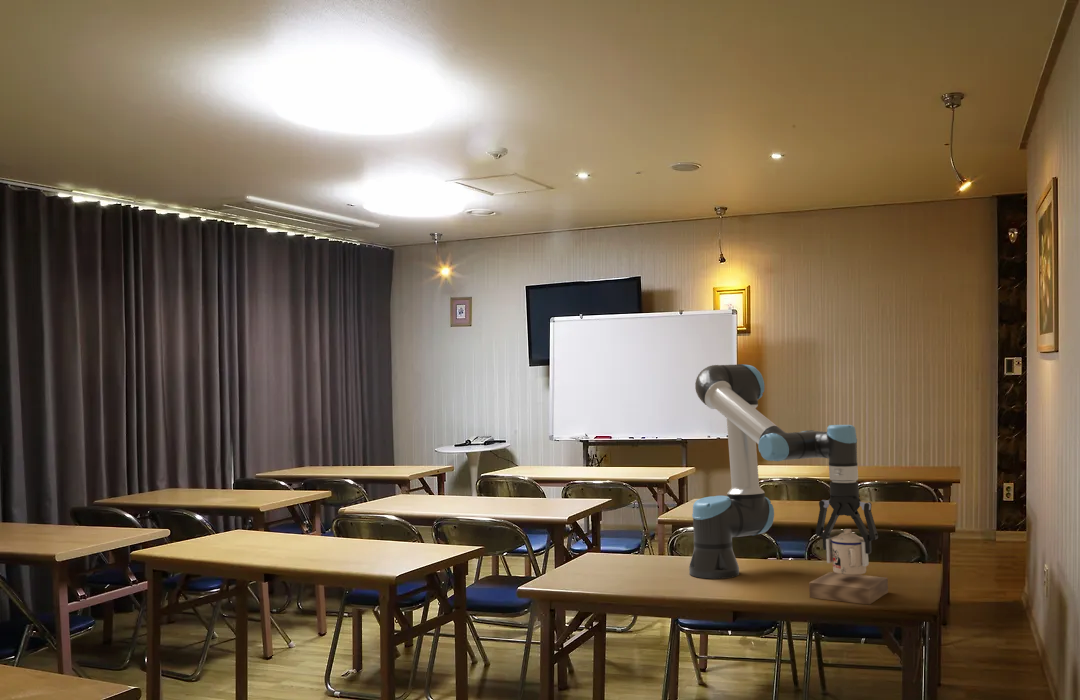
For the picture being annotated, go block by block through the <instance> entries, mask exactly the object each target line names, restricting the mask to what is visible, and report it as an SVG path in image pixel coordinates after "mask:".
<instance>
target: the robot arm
mask: <svg viewBox="0 0 1080 700" xmlns="http://www.w3.org/2000/svg"><path fill="white" fill-rule="evenodd" d="M764 381H765V380H764V378H763V375H762V372H760V371H759V370H758V369H757V368H756V367H755V366H753V365H750V364H743V363H742V364H712V365H709V366H707V367H705V368H703V369H702V370H701V371H700V372H699V373H698V375H697V376H696V379H695V384H694V385H695V393H696V395H697V397H698V398H699V401H701V402H702V403H703V404H704V405H706V407H708V408H709V409H711V410H717V411H718V412H719V413H720V414H721V415H722V416H724V418H726V427H727V428H726V429H727V441H728V455H729V469H730V471H729V472H730V480H731V481H730V482H731V487H730V489H729V490H728V492H727V493H726V494H727V495H715V496H712V495H711V496H705V497H702V498H699V499H697V500H695V501H694V503H693V505H692V515H691V516H692V524H693V553H692V556H691V560H690V563H689V567H688V568H689V569H688V571H689V575H690V576H693V577H695V578H699V579H700V578H701V579H712V580H713V579H714V580H715V579H730V578H731V579H732V578H734V577H737V576H739V575H740V566H739V563H738V560H737V557H736V555H735V553H734V550H733V538H739V537H747V536H752V537H754V536H757V535H760V534H765V533H766V532H768V531H769V529H771V527H772V525H773V524H774V520H775V508H774V505H773V504H772V502H771V500H770V499H769V498H768V497H766V495H765V494H766V493H765V491H764V490H763V489H762V487H760V481H759V479H760V478H759V465H758V454H757V450H758V452H759V453H760V456H761V457H762V458H763V459H764V460H766V461H768V462H773V461H774V462H782V461H787V460H788V461H790V460H803V459H816V458H818V459H828V472H829V473H828V476H829V480H830V482H829V494H830V495H829V496H830V497H829V499H828V500H826V499H822V500H819V502H818V505H819V512H818V518H817V523H816V529H815V535H816V536H819V537H820V538H822V548H823V550H824V551H826V563H827V564H831V563H833V557H832V542H831V539H832V537H831V536H830V535H831V533H832V531H833V529H834V527H835V525H836V523H837V520H838V519H839V517H840V516H846V517H850V518H851V519H852V520H853V522H854V524H855V526H856V527H857V529H858V531H859V533H860V535H861V537H863V539H864V541H862V542H861V543H862V565H863V566H866V567H867V566H869V565H870V564H869V555H870V554H871V553H872V541H874V540H877V539H878V538H879V535H878V531H877V528H876V524H875V520H874V517H873V514H872V505H873V504H872V502H871V501H868V502H865V501H864V502H863V501H861V499H860V487H859V486H860V485H859V481H858V480H859V471H858V470H859V467H858V439H857V431H856V427H855V426H854V425H853V424H829V425H828V426H827V428H826V431H820V430H814V429H813V430H801V431H796V432H795V431H794V432H786V431H784V430H783V429H782V428H780V427H779V426H778V425H776V424H775V423H774V422H773V421H772V420H770V419H769V418H768V417H766V416H765V415H764V414H763V413H761V412H760V411H759V410H758V409H757V408H758V406H759V399H761V398H762V397H763V393H764V392H765V382H764ZM757 446H758V449H757ZM829 506H830V507H831V508H832V512H831V515H830V517H829V520H828V522H827V523H826V526H825V522H826V518H827V512H828V508H829ZM860 507H861V509H862V511H863V515H864V517H865V518H864V519H865V523H866V525H867V527H866V525H865V523H864V521H863V520H862V518H861V514H860V512H859V511H858V510H859V508H860Z"/></svg>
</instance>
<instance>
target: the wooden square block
mask: <svg viewBox="0 0 1080 700" xmlns="http://www.w3.org/2000/svg"><path fill="white" fill-rule="evenodd" d="M808 583H809V584H808V585H809V587H808V588H809V598H812V599H821V600H829V601H836V602H837V601H838V602H844V603H845V602H846V603H852V604H853V603H854V604H863V605H871V604H872V603H874V602H876V601H877V600H878V599H881V598H882V597H884V596H885V595H887V594H888V593H889V584H888V583H889V582H888V577H886V576H885V577H884V576H883V577H882V576H874V575H867V574H866V575H865V574H861V575H843V574H838V573H835V572H834V571H833V572H832V571H829V572H827V573H825V574H823V575H821V576H818V577H817V578H815V579H813V580H811V581H809V582H808Z"/></svg>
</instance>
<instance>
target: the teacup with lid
mask: <svg viewBox="0 0 1080 700" xmlns="http://www.w3.org/2000/svg"><path fill="white" fill-rule="evenodd" d="M831 538H832V539H831V542H832V557H833V562H832V570H833V572H835V573H838V574H843V575H865V573H867V566H863V565H862V543H861V542H862V541H864V539H863V537H862V536H859V535H857V534H856V533H853V532H852V529H851V528H845V529H843V532H841V533H839V534H837V535H835V536H833V537H831Z"/></svg>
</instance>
